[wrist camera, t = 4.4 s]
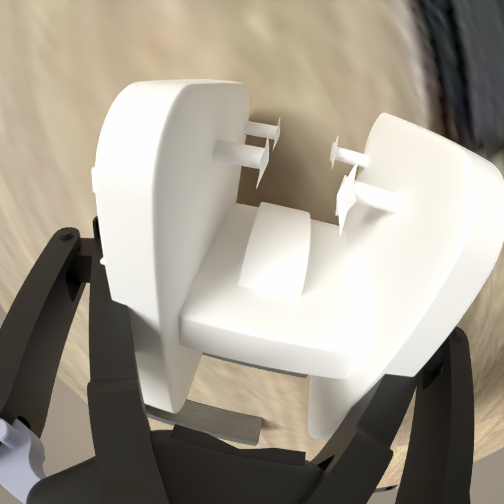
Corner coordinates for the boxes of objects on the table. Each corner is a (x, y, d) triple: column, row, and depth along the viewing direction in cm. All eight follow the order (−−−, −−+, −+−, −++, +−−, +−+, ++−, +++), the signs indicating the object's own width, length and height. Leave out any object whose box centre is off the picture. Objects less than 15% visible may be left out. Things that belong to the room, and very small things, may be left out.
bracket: (312, 331, 25) (312, 368, 21) (259, 421, 36) (255, 445, 33) (128, 282, 25) (107, 312, 21) (144, 390, 36) (135, 412, 33)
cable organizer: (328, 312, 22) (328, 456, 12) (195, 283, 22) (134, 414, 13) (399, 117, 14) (536, 192, 4) (215, 75, 14) (67, 82, 4)
